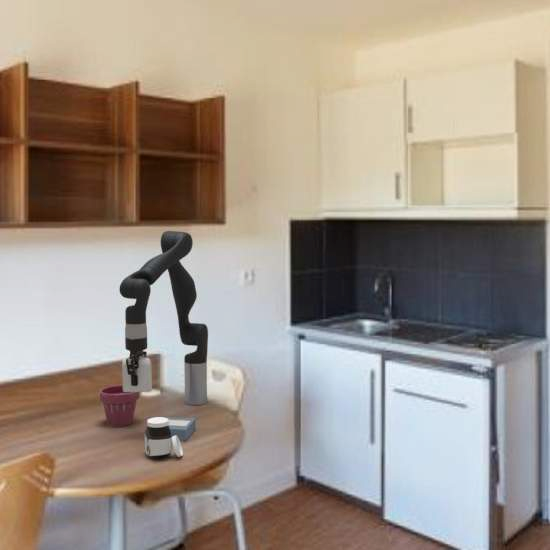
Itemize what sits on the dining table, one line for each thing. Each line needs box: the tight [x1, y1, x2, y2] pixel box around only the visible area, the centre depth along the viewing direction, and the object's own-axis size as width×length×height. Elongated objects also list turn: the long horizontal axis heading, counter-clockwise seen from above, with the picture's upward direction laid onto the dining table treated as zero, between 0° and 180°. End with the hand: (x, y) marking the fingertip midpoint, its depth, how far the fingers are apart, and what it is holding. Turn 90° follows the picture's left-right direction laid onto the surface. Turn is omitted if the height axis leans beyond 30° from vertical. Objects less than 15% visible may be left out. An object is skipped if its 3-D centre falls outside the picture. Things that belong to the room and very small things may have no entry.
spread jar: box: [144, 416, 184, 460], centre depth 213 cm, size 12×11×12 cm
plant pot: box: [99, 384, 140, 427], centre depth 247 cm, size 14×14×13 cm
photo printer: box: [121, 356, 153, 393], centre depth 232 cm, size 10×4×12 cm, turn 88°
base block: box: [163, 416, 197, 442], centre depth 235 cm, size 13×14×4 cm
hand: (137, 383), depth 232 cm, fingers closed on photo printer, 4 cm apart
